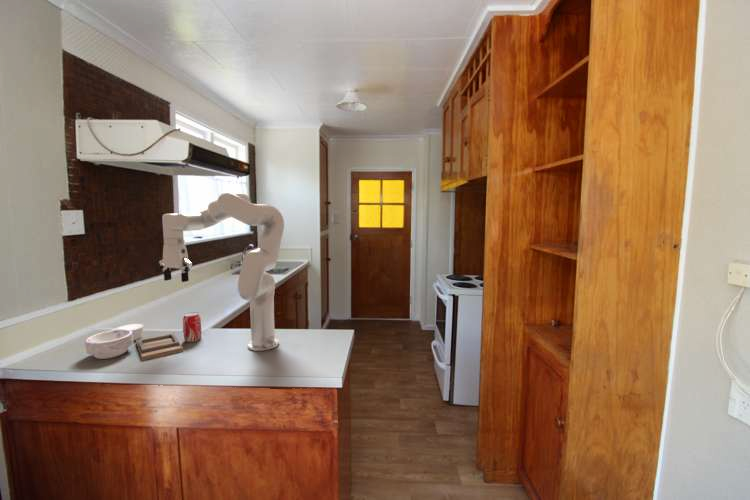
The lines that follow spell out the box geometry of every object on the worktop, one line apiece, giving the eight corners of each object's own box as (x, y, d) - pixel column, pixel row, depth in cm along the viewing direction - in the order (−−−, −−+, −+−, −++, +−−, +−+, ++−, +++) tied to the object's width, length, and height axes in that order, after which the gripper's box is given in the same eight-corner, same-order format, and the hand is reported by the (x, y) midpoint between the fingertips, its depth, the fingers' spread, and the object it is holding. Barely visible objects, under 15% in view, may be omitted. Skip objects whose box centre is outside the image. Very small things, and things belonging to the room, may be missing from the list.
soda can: (181, 340, 155) (180, 314, 153) (198, 336, 160) (197, 310, 158) (186, 344, 150) (185, 317, 148) (204, 340, 155) (202, 314, 153)
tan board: (182, 351, 143) (182, 347, 142) (142, 360, 134) (141, 356, 134) (173, 336, 159) (173, 333, 159) (136, 343, 151) (136, 340, 151)
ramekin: (109, 345, 150) (107, 333, 149) (119, 336, 160) (118, 325, 160) (138, 342, 153) (137, 330, 152) (147, 333, 163) (146, 322, 163)
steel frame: (179, 344, 146) (179, 342, 145) (142, 352, 137) (141, 349, 137) (173, 336, 156) (173, 333, 155) (138, 343, 147) (138, 340, 147)
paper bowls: (76, 361, 133) (74, 341, 132) (111, 346, 148) (109, 328, 147) (111, 363, 131) (109, 343, 130) (143, 347, 146) (141, 329, 145)
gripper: (196, 241, 152) (198, 280, 154) (166, 240, 157) (168, 278, 159) (182, 243, 145) (185, 283, 147) (151, 242, 150) (153, 281, 152)
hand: (176, 280), depth 153 cm, fingers open, 9 cm apart
